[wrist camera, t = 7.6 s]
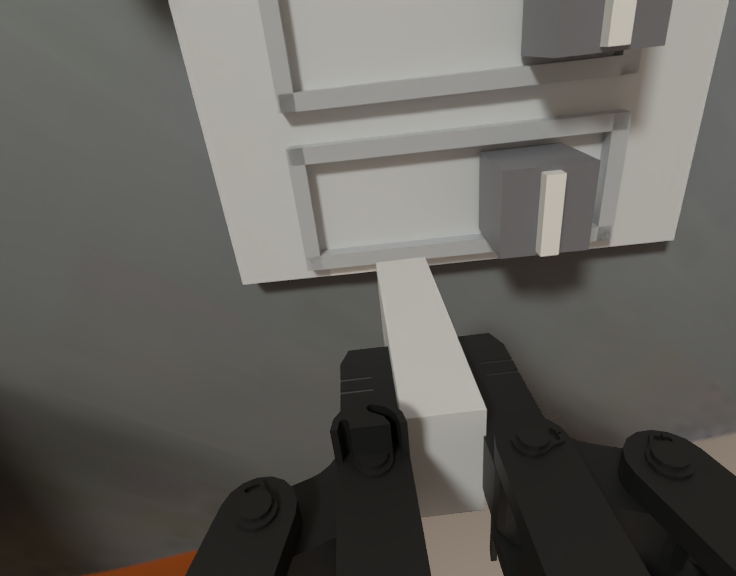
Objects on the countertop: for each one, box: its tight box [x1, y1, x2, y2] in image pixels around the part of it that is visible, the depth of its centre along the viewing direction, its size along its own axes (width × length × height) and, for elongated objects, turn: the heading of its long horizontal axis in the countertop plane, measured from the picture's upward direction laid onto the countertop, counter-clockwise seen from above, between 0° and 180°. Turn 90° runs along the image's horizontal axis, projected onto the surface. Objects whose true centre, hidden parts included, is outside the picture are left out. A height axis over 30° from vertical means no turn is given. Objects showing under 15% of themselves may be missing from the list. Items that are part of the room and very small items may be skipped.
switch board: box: [168, 0, 729, 285], centre depth 22 cm, size 24×16×2 cm, turn 96°
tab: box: [479, 142, 601, 259], centre depth 21 cm, size 4×4×5 cm
